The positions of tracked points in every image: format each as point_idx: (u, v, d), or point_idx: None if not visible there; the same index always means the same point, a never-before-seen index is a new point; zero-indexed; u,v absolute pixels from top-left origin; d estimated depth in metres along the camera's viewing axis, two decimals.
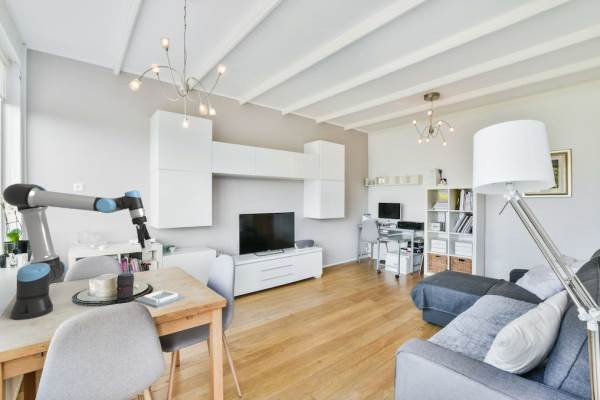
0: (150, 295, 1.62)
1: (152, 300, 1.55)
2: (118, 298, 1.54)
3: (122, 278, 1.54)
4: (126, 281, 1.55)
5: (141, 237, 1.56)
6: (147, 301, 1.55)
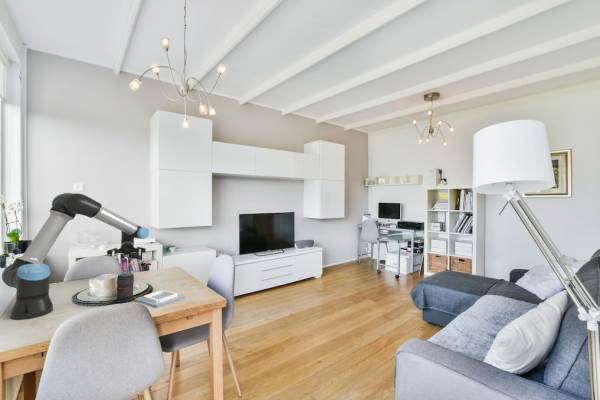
0: (150, 295, 1.62)
1: (152, 300, 1.55)
2: (118, 298, 1.54)
3: (122, 278, 1.54)
4: (126, 281, 1.55)
5: None
6: (147, 301, 1.55)
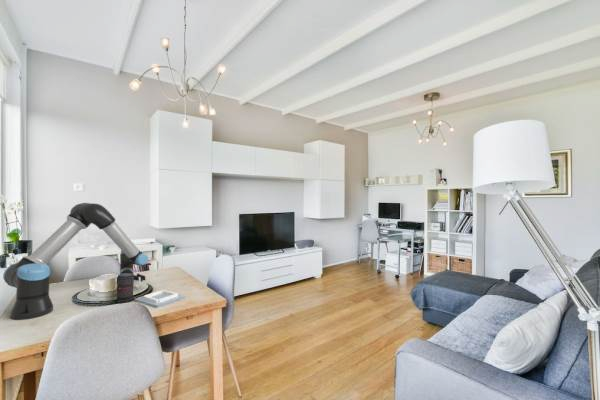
0: (150, 295, 1.62)
1: (152, 300, 1.55)
2: (118, 298, 1.54)
3: (122, 278, 1.54)
4: (126, 281, 1.55)
5: None
6: (147, 301, 1.55)
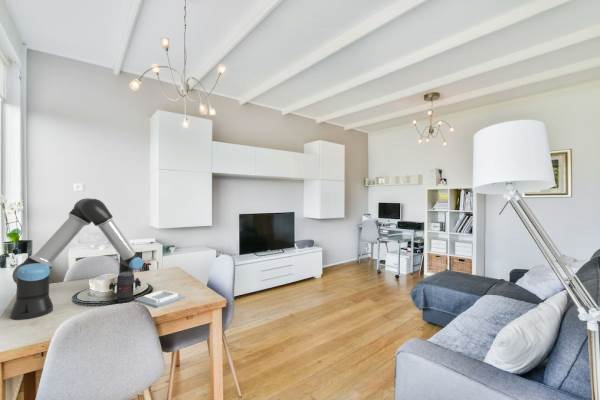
0: (150, 295, 1.62)
1: (152, 300, 1.55)
2: (118, 298, 1.54)
3: (122, 278, 1.54)
4: (126, 281, 1.55)
5: None
6: (147, 301, 1.55)
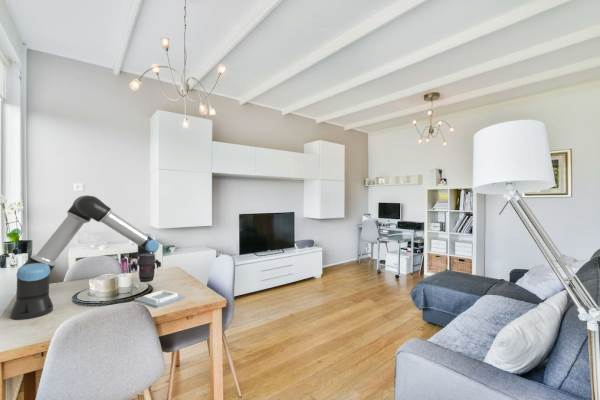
0: (150, 295, 1.62)
1: (152, 300, 1.55)
2: (141, 277, 1.58)
3: (144, 258, 1.58)
4: (148, 260, 1.58)
5: None
6: (147, 301, 1.55)
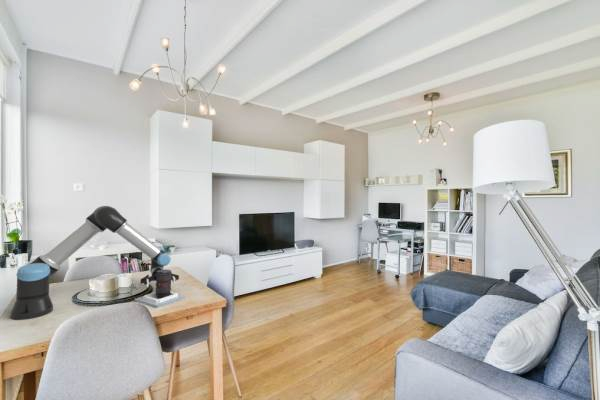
0: (150, 295, 1.62)
1: (152, 300, 1.55)
2: (158, 294, 1.59)
3: (162, 274, 1.59)
4: (165, 277, 1.60)
5: None
6: (147, 301, 1.55)
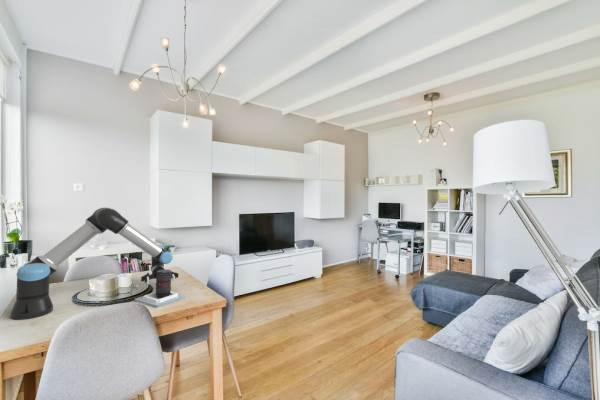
0: (150, 295, 1.62)
1: (152, 300, 1.55)
2: (158, 294, 1.59)
3: (162, 274, 1.59)
4: (165, 277, 1.60)
5: None
6: (147, 301, 1.55)
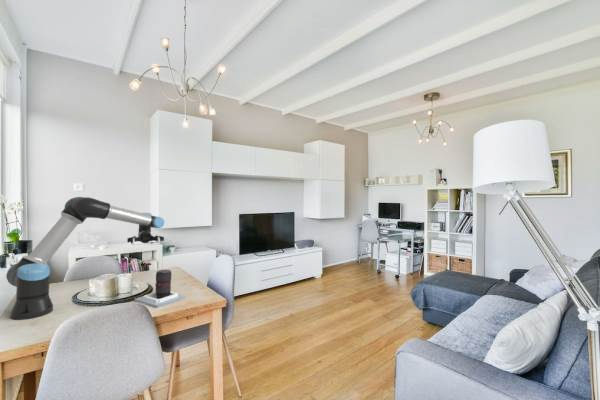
0: (150, 295, 1.62)
1: (152, 300, 1.55)
2: (158, 294, 1.59)
3: (162, 274, 1.59)
4: (165, 277, 1.60)
5: None
6: (147, 301, 1.55)
